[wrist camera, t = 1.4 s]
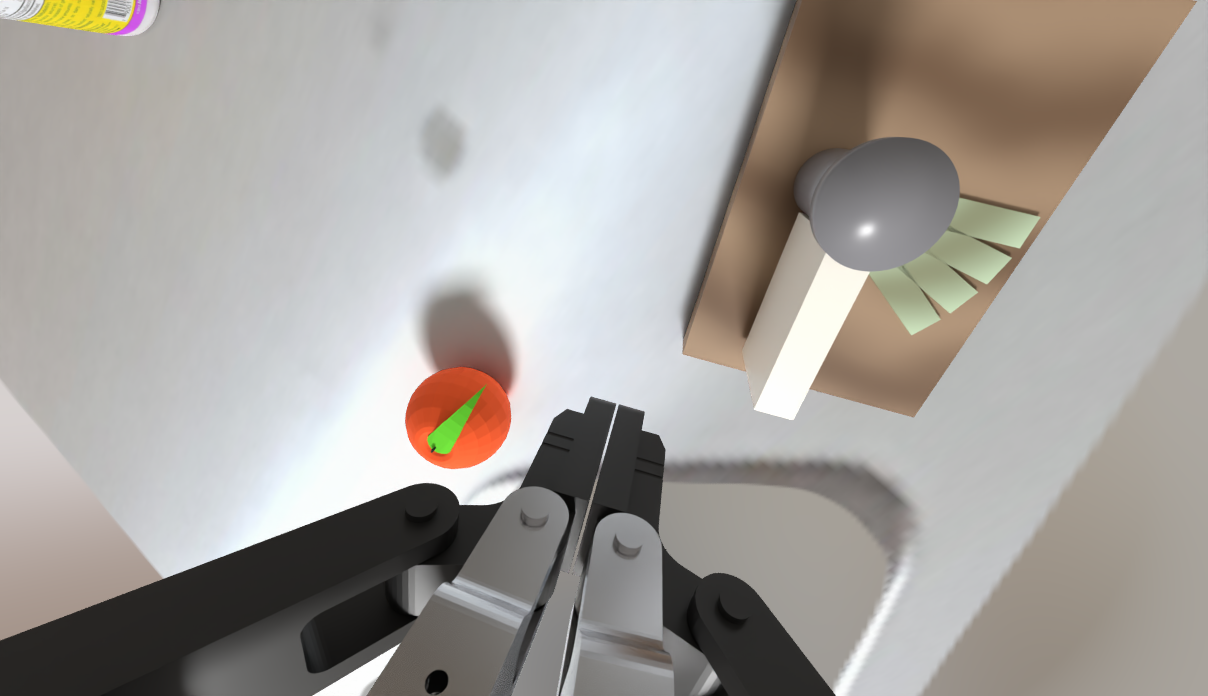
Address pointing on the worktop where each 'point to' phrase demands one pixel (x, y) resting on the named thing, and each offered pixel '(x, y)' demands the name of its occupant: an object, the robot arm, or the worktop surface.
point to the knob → (843, 254)
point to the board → (947, 120)
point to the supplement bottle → (85, 14)
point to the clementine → (458, 417)
